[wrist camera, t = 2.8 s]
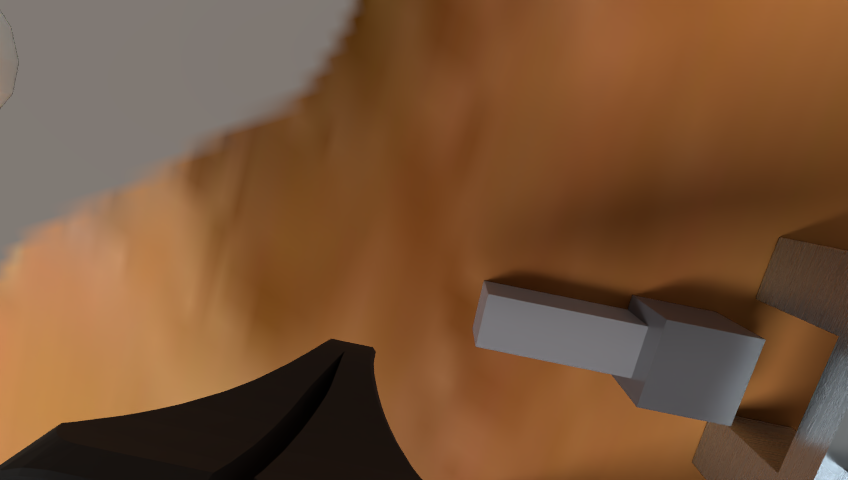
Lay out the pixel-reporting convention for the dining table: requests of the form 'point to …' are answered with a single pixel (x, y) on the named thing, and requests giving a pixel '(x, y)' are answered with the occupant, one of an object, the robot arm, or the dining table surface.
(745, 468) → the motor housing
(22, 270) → the dining table surface
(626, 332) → the plug
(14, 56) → the white cup
